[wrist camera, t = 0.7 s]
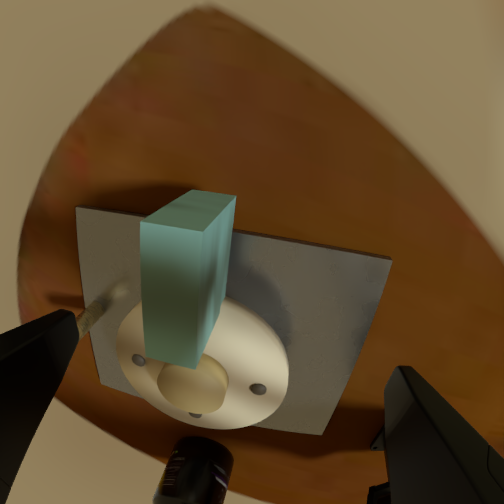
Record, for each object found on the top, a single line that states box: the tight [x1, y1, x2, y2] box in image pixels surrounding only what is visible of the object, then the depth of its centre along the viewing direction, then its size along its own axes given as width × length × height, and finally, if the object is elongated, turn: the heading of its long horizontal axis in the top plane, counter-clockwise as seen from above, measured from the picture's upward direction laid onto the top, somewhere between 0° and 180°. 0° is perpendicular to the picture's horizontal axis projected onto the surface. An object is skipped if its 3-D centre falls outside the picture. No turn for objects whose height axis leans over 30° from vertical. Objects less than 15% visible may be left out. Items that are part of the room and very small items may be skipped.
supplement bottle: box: [153, 437, 234, 504], centre depth 25 cm, size 7×7×12 cm
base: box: [76, 205, 392, 435], centre depth 21 cm, size 18×22×6 cm
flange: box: [116, 190, 289, 429], centre depth 17 cm, size 18×12×6 cm
